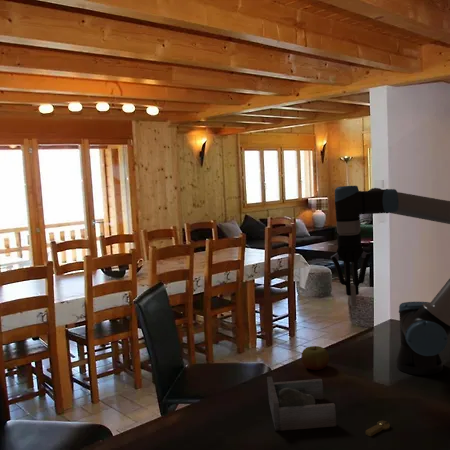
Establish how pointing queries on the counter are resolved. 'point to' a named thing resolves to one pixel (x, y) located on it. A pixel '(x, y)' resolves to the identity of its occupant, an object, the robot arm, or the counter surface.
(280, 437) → the counter surface
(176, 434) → the counter surface
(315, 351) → the apple
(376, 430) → the wooden spoon
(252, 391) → the counter surface
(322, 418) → the gray open-sided box
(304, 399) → the decorative stone
